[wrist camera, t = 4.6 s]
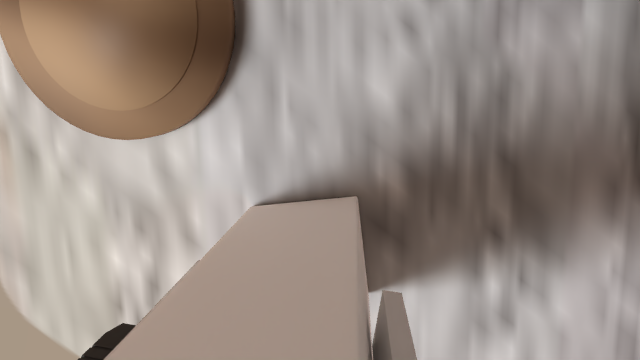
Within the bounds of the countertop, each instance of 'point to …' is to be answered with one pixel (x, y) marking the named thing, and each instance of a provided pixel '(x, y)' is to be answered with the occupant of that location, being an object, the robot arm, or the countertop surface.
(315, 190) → the countertop surface
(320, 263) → the milk
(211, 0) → the disc
